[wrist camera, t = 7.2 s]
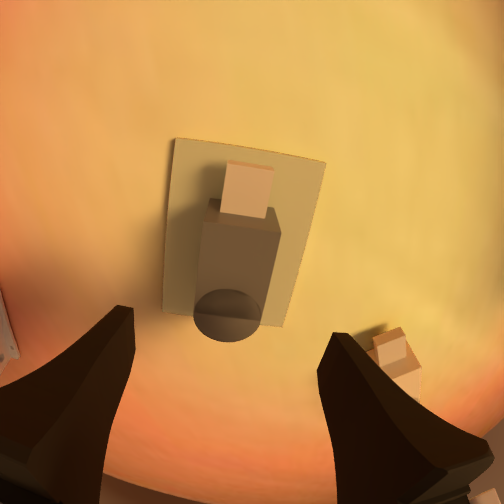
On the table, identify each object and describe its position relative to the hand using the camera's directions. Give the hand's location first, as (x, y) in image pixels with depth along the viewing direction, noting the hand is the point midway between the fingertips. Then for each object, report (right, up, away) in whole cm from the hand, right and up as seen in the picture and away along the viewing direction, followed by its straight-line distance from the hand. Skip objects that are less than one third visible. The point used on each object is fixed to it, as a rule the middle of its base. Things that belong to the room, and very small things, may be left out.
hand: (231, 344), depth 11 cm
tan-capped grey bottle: (0, +4, +7) cm, 8 cm away
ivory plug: (+12, -6, +13) cm, 19 cm away
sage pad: (0, +4, +8) cm, 9 cm away
